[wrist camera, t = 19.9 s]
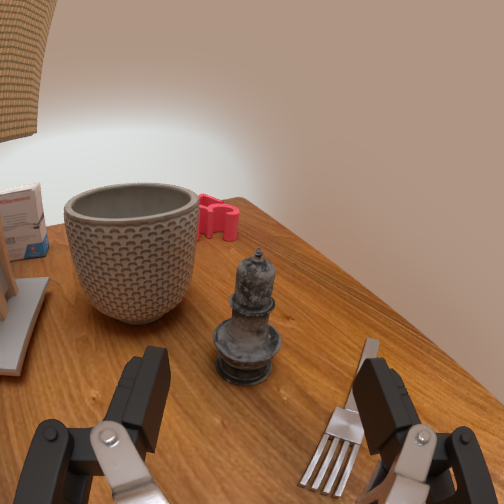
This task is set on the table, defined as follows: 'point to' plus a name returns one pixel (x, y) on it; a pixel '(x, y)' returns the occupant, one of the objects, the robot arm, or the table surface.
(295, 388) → the table surface
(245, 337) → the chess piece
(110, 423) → the robot arm
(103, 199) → the planter
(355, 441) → the fork
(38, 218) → the ink box
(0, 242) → the desk lamp
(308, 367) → the table surface
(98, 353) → the table surface
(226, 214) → the letters
